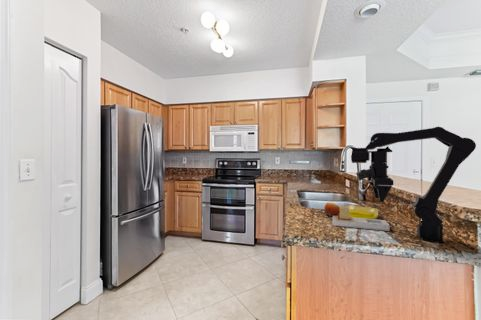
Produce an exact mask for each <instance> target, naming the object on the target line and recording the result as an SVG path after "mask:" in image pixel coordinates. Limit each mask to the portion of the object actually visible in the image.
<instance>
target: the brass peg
mask: <svg viewBox="0 0 481 320" xmlns="http://www.w3.org/2000/svg"><path fill="white" fill-rule="evenodd" d="M338 206H339V214H338V216H339V219H341V220H349V207H347V206H348V205H346V206H344V205H338Z"/></svg>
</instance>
